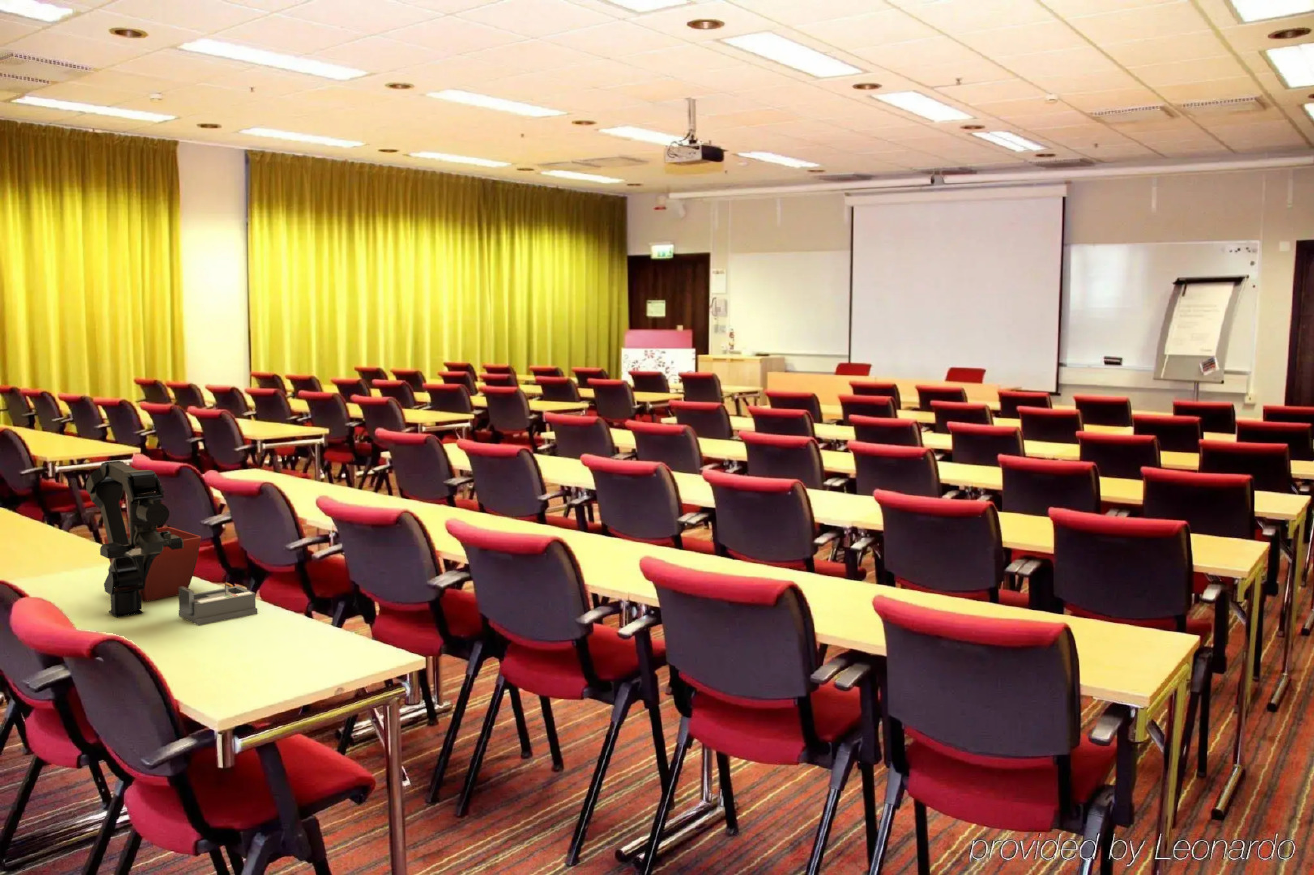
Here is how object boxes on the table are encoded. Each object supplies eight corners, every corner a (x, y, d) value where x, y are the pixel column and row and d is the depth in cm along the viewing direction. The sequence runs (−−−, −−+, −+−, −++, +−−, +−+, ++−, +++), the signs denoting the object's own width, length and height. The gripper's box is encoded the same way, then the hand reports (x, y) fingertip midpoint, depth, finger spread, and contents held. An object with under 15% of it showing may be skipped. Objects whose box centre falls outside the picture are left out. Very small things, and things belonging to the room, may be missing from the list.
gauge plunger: (193, 619, 269) (193, 592, 269) (178, 611, 276) (178, 585, 275) (243, 609, 279) (242, 583, 278) (227, 602, 285) (227, 576, 284)
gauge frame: (198, 625, 270) (197, 603, 269) (178, 615, 278) (178, 593, 277) (257, 613, 282) (257, 592, 281) (237, 604, 290) (236, 583, 289)
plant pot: (137, 607, 284) (135, 547, 282) (104, 594, 296) (102, 536, 294) (204, 593, 299) (202, 536, 297) (169, 581, 311) (168, 526, 309)
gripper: (115, 529, 254) (117, 591, 256) (191, 520, 268) (193, 579, 270) (98, 522, 262) (100, 582, 264) (173, 513, 275) (175, 570, 277)
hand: (143, 579), depth 268 cm, fingers closed
